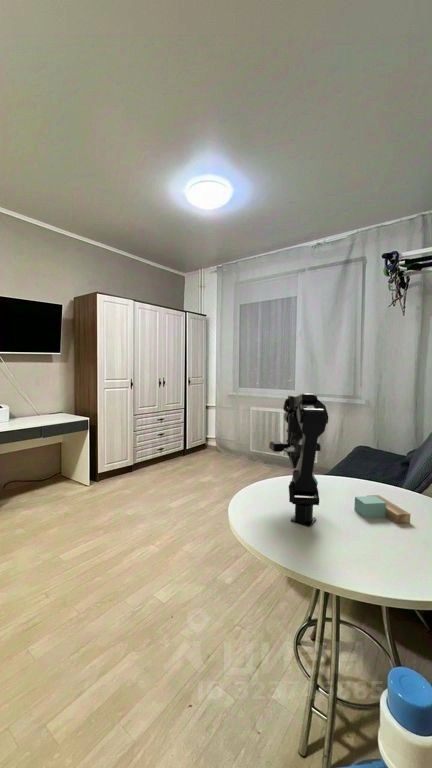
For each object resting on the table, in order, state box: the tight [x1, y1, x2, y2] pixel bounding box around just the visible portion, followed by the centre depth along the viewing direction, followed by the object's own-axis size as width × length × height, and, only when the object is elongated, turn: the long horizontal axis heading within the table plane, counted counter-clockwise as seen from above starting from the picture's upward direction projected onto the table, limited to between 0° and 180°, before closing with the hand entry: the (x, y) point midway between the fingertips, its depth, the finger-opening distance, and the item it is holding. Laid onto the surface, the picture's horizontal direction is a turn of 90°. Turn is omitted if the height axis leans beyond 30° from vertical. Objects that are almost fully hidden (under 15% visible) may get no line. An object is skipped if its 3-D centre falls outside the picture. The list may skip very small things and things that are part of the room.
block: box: [353, 495, 387, 519], centre depth 113 cm, size 8×6×5 cm
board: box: [367, 494, 411, 525], centre depth 114 cm, size 5×16×3 cm, turn 9°
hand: (294, 468), depth 123 cm, fingers closed
